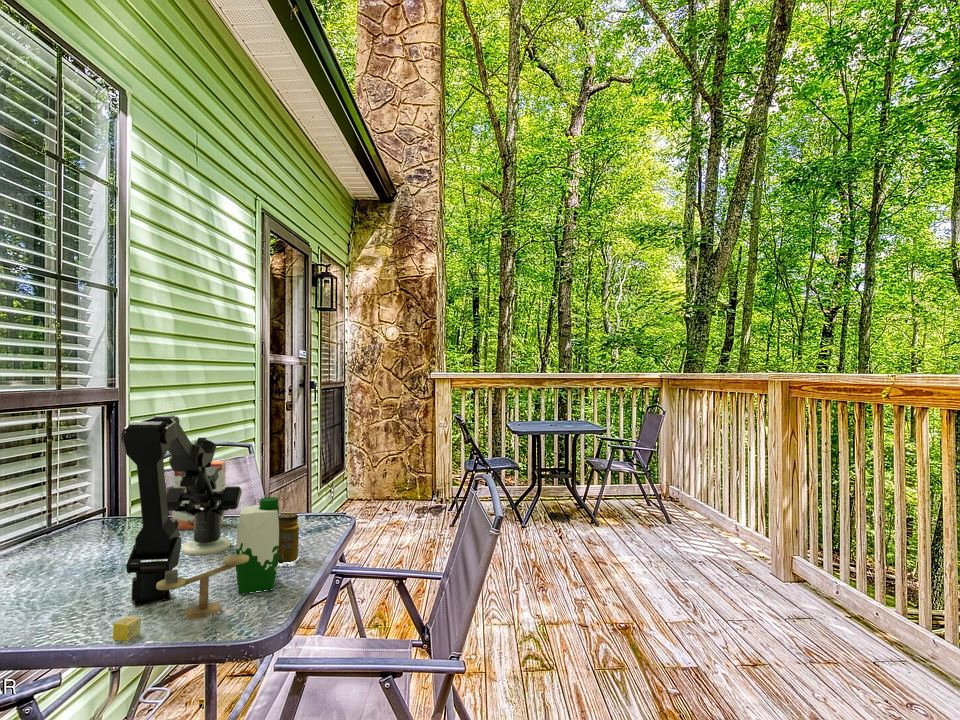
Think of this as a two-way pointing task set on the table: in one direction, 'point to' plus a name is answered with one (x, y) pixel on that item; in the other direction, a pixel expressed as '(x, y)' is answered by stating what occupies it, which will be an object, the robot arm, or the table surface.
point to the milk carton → (258, 546)
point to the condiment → (288, 537)
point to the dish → (206, 547)
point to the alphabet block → (126, 628)
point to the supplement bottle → (207, 523)
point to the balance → (204, 607)
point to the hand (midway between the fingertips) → (209, 514)
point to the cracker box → (188, 520)
